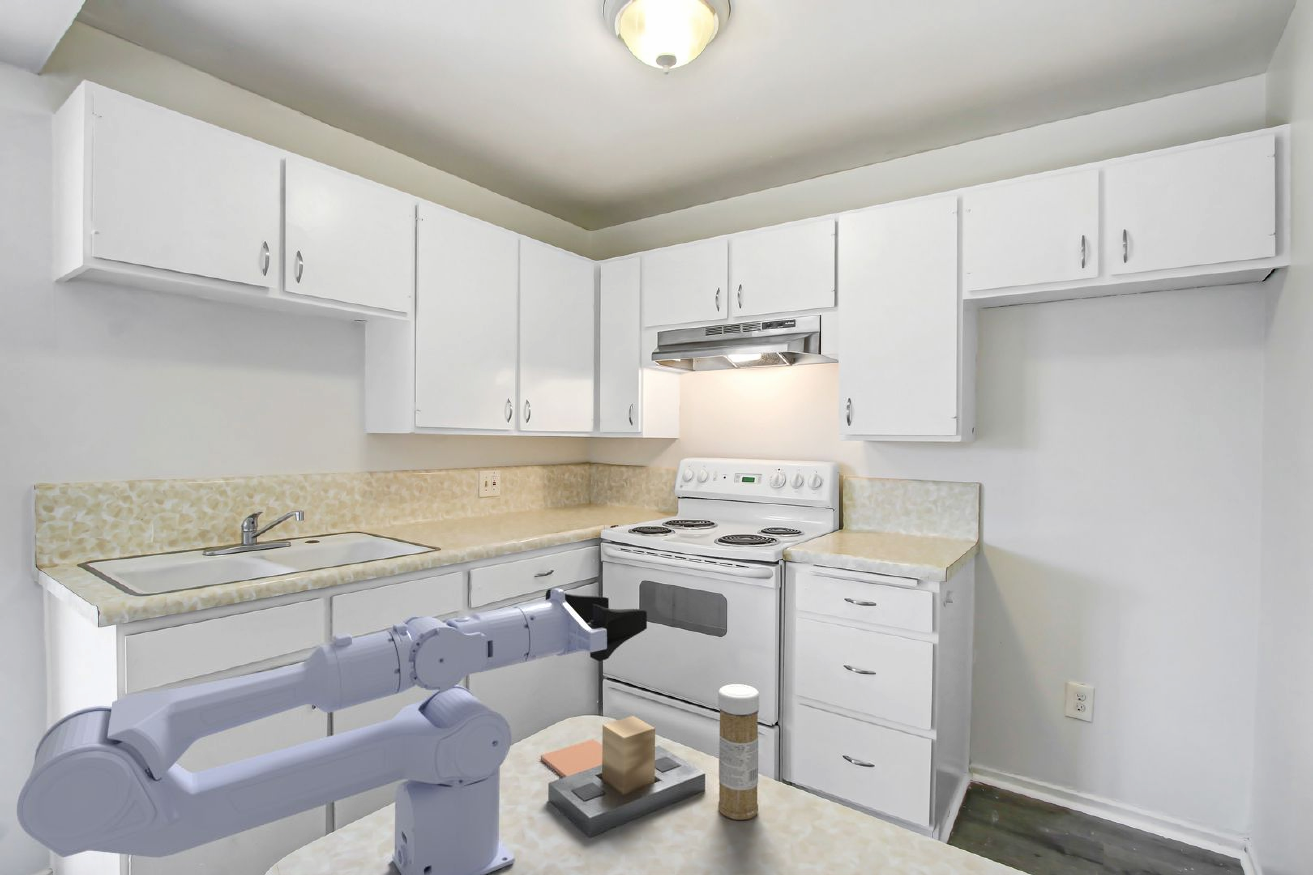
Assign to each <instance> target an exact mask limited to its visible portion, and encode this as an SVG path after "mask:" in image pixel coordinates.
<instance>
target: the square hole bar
mask: <svg viewBox="0 0 1313 875" xmlns="http://www.w3.org/2000/svg"><path fill="white" fill-rule="evenodd" d="M547 791H548V792H547V793H548V794H547V796H548V799H547V800H548V802H550V803H551V804H552V805H553V807H555V808H556V809H557V810H559V811H560V812H561V813H562V814H563V815H564V816H565V817H566V818H568V820H570V821H571V823H573V824H574V825H575V826H577V828H578V829H579V830H581V831H582V832H583V833H584V834H585V835H587V837H589V838H591V837H595V836H596V835H599V834H601V833H605V832H607V831H609V830H612V829H614V828H617V827H619V826H621V825H624V824H626V823H629V822H631V821H633V820H636V819H638V818H641V817H644V816H646V815H648V814H650V813H653V812H656V811H659V810H661V809H662V808H665V807H667V806H670V805H672V804H674V803H677V802H679V801H682V800H684V799H687V798H689V797H693V796H694V795H697V794H699V793H701V792H704V791H706V772H704V771H702V770H701V769H700V768H698V767H696V766H694V765H692V764H691V763H689V762H687V761H686V760H684V759H682V758H681V757H679V756H677V755H676V754H674V753H673V752H671V751H669V750H667V749H666V748H664V747H662V746H661V745H657V746H656V745H655V783H654V784H651V785H648V786H646V787H643V788H641V789H638V790H635V791H633V792H630V793H627V794H625V795H621V794H619V793H618V792H617V791H615V790H614V789H613V788H611V787H610V786H609V785H607V784H606V783H605V782H603V781H602V765H600V766H597V767H594V768H591V769H588V770H585V771H582V772H579V773H576V774H573V775H570V776H567V777H564V778H563V777H562V778H559V779H556V780H553V781H549V782H548V789H547Z"/></svg>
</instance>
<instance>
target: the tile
mask: <svg viewBox="0 0 1313 875" xmlns="http://www.w3.org/2000/svg"><path fill="white" fill-rule="evenodd" d="M540 760H541V761H543V763H545V764H546V765H547V766H549V767H550V768H551V769H552V770H553V771H554V772H556V773H557V774H559V776H561V777H562V778H564V777H567V776H570V775H573V774H576V773H579V772H582V771H585V770H588V769H591V768H594V767H597V766H600V765H602V743H600V742H598V741H596V740H595V739H589V740H586V741H583V742H580V743H576V744H574V745H570V746H566V747H564V748H561V749H558V750H553V751H551V752H548V753H544V754H542V755H541V754H540Z"/></svg>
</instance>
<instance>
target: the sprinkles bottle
mask: <svg viewBox="0 0 1313 875" xmlns="http://www.w3.org/2000/svg"><path fill="white" fill-rule="evenodd" d="M717 695H718V698H717V699H718V700H717V703H718V704H717V705H718V708H719V741H718V742H719V744H718V745H719V746H718V748H719V749H718V784H719V785H718V786H719V787H718V789H719V791H718V792H719V793H718V795H719V796H718V798H719V800H718V804H717V807H718V810H719V811H720V813H721V814H722V815H724V816H725V817H727V818H730V819H731V820H742V821H743V820H749V819H752V818H754V817H755V816H756V815H757V814H758V811H759V804H758V784H759V732H758V729H759V726H758V725H759V722H758V720H759V719H758V717H759V716H758V714H759V711H760V710H759V709H760V692H759V691H758V690H757V688H755V687H754V686H751V685H747V684H742V683H741V684H740V683H732V684H727V685H723V686H722V687H720V688H719V689H718V694H717Z"/></svg>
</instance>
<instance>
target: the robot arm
mask: <svg viewBox="0 0 1313 875" xmlns="http://www.w3.org/2000/svg"><path fill="white" fill-rule="evenodd" d="M609 601H610V600H609V597H606V596H599V595H579V594H578V595H577V594H570V593H567V592H566V593H565V591H564V590H563V588H562V589H561V588H558V587H556V588H550V589H547V590H546V592H545V600H542V601H538V602H533V603H527V604H522V605H515V606H510V607H509V606H508V607H505V608H499V609H493V610H492V609H491V610H486V611H481V612H476V613H475V612H474V613H472V614H471V613H470V614H469V615H468V614H467V615H462V616H458V617H453V618H447V619H446V620H445V623H444V622H443V621H441V620H440V619H438V618H436V617H432V616H427V615H426V616H425V615H424V616H422V615H421V616H417V615H416V616H415V615H412V616H410V617H408V618H407V619H405V620H403V621H402V622H399V623H394V624H393V625H392V629H389V630H385V631H384V630H383V631H380V632H376V633H371V634H366V635H362V636H359V637H354V638H353V636H352V635H351V634H350V633H349V632H343V633H339V634H335V635H333V637H332V642H331V643H330V642H329V643H327V644H322V645H319V646H318V647H317V648H316V649H315V650H314V651H313V652H312V654H310V656H309V657H308V658H307V659H306V660H305V661H304V662H303V663H301V664H297V665H291V666H287V667H281V668H277V669H270V670H265V671H260V672H255V673H249V674H245V675H239V676H233V677H229V678H225V679H224V678H223V679H217V680H214V681H209V682H202V683H197V684H193V685H188V686H183V687H178V688H171V689H165V690H160V691H152V692H144V693H137V694H136V693H135V694H131V695H129V696H125V697H122V698H120V699H117V700H114V701H112V704H111V706H109V705H108V706H107V705H94V706H90V707H86V708H82V709H79V710H76V711H74V712H72V713H70V714H67V715H66V716H64V717H62V718H60V719H59V720H58V721H57V722H55V723H54V724H53V725H52V726H51V727H49V729H48V730H47V731H46V732H45V733H44V734H43V736H42V738H41V739H40V741H39V742H38V745H37V746H36V747H37V748H36V750H35V754H34V762H33V766H32V769H31V771H30V775H29V777H28V778H27V780H26V782H25V783H24V785H23V787H22V789H21V791H20V793H19V796H18V799H17V803H16V816H17V820H18V822H19V825H20V827H21V828H22V829H23V831H24V832H25V833H26V834H27V835H29V837H30V838H32V839H34V840H35V841H37V842H38V843H40V844H41V845H43V846H44V847H46V848H47V849H49V850H50V851H51V852H53V853H55V854H56V855H58V856H60V857H61V858H67V857H69V856H73V855H77V854H80V853H85V852H88V851H91V852H92V851H93V852H101V853H111V854H117V855H118V854H120V855H127V856H128V855H129V856H136V857H137V856H138V857H148V858H163V857H168V856H172V855H175V854H180V853H181V852H185V851H189V850H191V849H195V848H197V847H200V846H203V845H206V844H209V843H212V842H215V841H218V840H221V839H225V838H228V837H231V836H233V835H236V834H239V833H240V834H241V833H244V832H246V831H249V830H252V829H254V828H258V827H261V826H264V825H268V824H270V823H273V822H276V821H279V820H282V819H286V818H288V817H292V816H294V815H298V814H301V813H303V812H307V811H310V810H313V809H315V808H319V807H323V806H326V805H329V804H331V803H334V802H337V801H340V800H344V799H347V798H351V797H353V796H355V795H359V794H362V793H365V792H368V791H371V790H374V789H377V788H380V787H384V786H386V785H390V784H392V783H395V782H398V781H401V780H405V781H403V782H401V783H400V784H398V786H397V789H396V792H395V802H394V804H395V805H394V812H395V813H394V852H393V853H392V856H391V858H392V861H393V862H394V865H395V866H396V868H397V869H398V871H399V873H400V875H487V874H489V873H491V872H494V871H497V870H500V869H501V868H504V867H506V866H510V865H512V864H513V863H515V861H516V857H515V854H513V852H512V851H511V850H510V849H509V848H508V846H507V845H505V843H504V842H503V841H502V840H501V839H500V786H501V785H500V781H501V780H500V776H501V766H502V765H503V764H504V761H505V760H506V758H507V756H508V755H509V752H510V748H511V745H512V744H511V743H512V730H511V726H510V724H509V722H508V721H507V719H506V718H505V717H504V716H503V715H502V714H501V713H499V712H498V711H497V712H496V711H494V710H492V709H491V708H490V707H488V706H487V705H486V704H484V702H482V701H481V700H479V698H477V697H475V695H474V694H473V693H472V691H471V690H469V689H467V688H466V687H464V686H462V685H459V683H460V682H462V680H463V679H464V678H465V677H466V676H468V675H473V674H476V673H477V674H478V673H484V672H487V671H493V670H497V669H500V668H503V667H505V668H506V667H508V666H513V665H518V664H523V663H526V662H530V661H531V662H532V661H536V660H540V659H543V658H548V657H549V658H550V657H553V656H558V657H559V656H560V657H561V656H566V655H569V654H574V653H579V652H583V651H584V652H589V656H590V658H591V659H593V660H595V661H597V662H602V661H605V660H608V659H609V658H610V656H612V654H613V653H614V651H616V650H617V649H618V648H619V647H620V646H621V645H622V644H624V643H625V642H627V641H628V640H629V639H632V638H633V637H635V636H637V635H639V634H640V633H642V632H643V631H645V630H647V628H648V626H647V625H648V618H647V617H648V612H647V610H644V609H641V608H628V609H627V608H626V609H625V608H623V609H620V608H619V609H616V608H610V607H609V606H610V604H609ZM415 686H417V687H419V688H420V689H425V690H428V691H433V692H431V694H429V695H428V696H426V697H425V698H423V699H422V700H420V701H418V702H415V703H411V704H409V705H406V706H404V707H403V708H402V709H400V711H398V713H397V714H396V715H395V716H394V717H393V718H392V719H388V720H384V721H381V722H377V723H374V724H370V725H367V726H363V727H359V728H355V729H351V730H348V731H344V732H340V733H336V734H332V735H330V736H326V737H322V738H318V739H314V740H312V741H311V740H310V741H307V742H304V743H303V742H302V743H300V744H299V743H298V744H297V745H293V746H289V747H285V748H281V749H278V750H274V751H271V752H266V753H263V754H259V755H255V756H252V757H248V758H245V759H241V760H237V761H233V762H230V763H227V764H222V765H219V766H215V767H210V768H208V769H204V770H200V771H196V772H189V771H188V770H187V769H185V768H183V767H182V766H180V764H178V763H177V762H178V760H179V759H180V758H181V757H182V756H183V755H184V754H185V753H186V751H187V750H188V749H189V748H190V747H191V746H192V745H193V744H194V743H195V742H196V741H197V740H200V739H202V738H205V737H208V736H212V735H214V734H218V733H220V732H223V731H227V730H230V729H234V728H236V727H239V726H243V725H246V724H249V723H252V722H255V721H258V720H262V719H265V718H268V717H271V716H274V715H278V714H280V713H284V712H287V711H289V710H292V709H296V708H299V707H302V706H305V705H310V706H314V707H315V708H317V709H319V710H321V711H322V712H324V713H326V714H329V713H334V712H336V711H339V710H344V709H348V708H351V707H354V706H357V705H361V704H364V703H365V704H367V703H368V702H373V701H375V700H380V699H383V698H386V697H390V696H393V695H397V694H400V693H403V692H406V691H408V690H410V689H411V688H414V687H415Z"/></svg>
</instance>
